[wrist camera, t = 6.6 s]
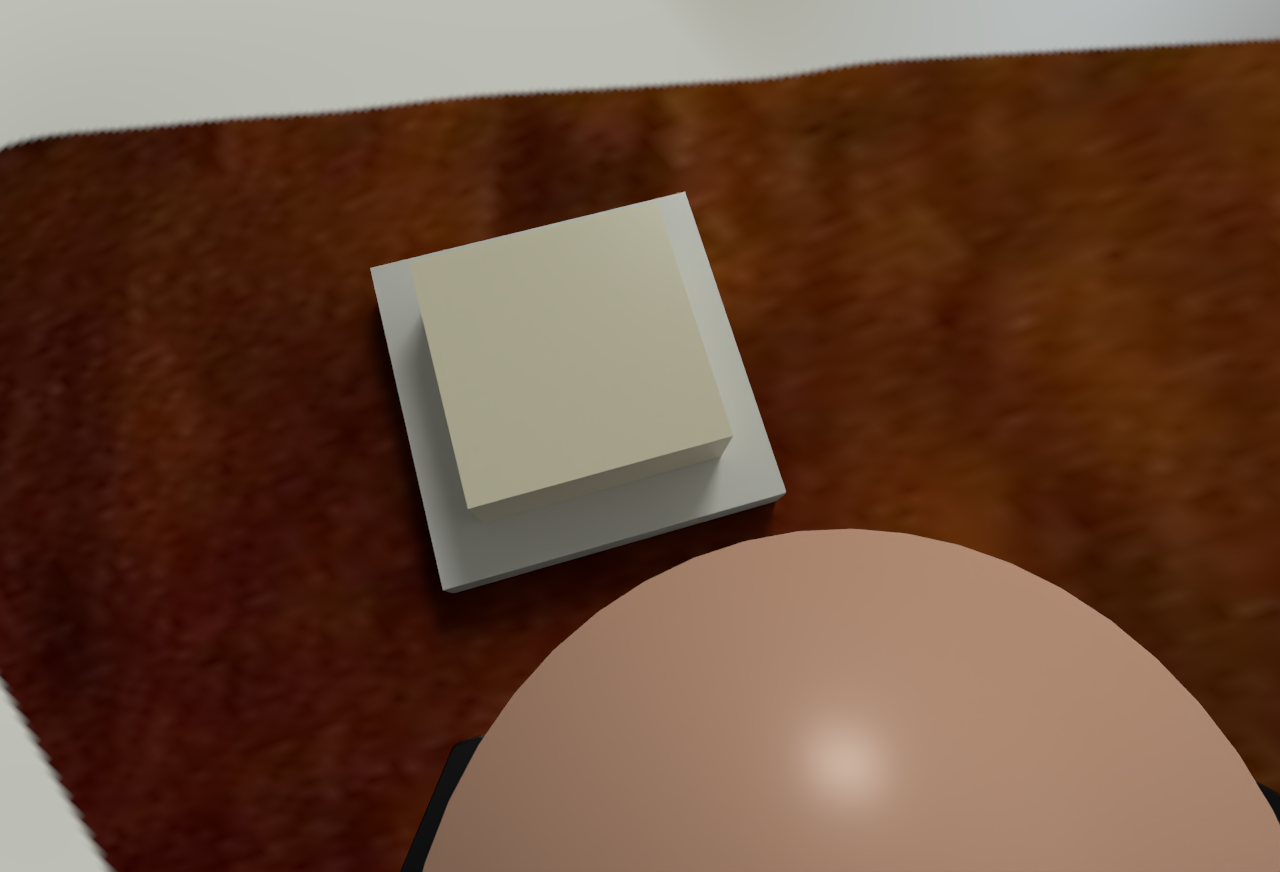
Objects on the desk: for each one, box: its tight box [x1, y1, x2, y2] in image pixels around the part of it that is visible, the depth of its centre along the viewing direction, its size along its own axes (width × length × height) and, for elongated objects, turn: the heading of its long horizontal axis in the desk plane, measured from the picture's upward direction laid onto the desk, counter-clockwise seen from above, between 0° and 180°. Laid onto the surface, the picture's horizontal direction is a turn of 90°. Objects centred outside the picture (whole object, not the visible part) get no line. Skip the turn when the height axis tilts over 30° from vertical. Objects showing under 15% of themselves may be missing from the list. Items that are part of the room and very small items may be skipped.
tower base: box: [370, 192, 786, 593], centre depth 23 cm, size 10×10×4 cm
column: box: [423, 529, 1280, 872], centre depth 10 cm, size 5×5×12 cm
